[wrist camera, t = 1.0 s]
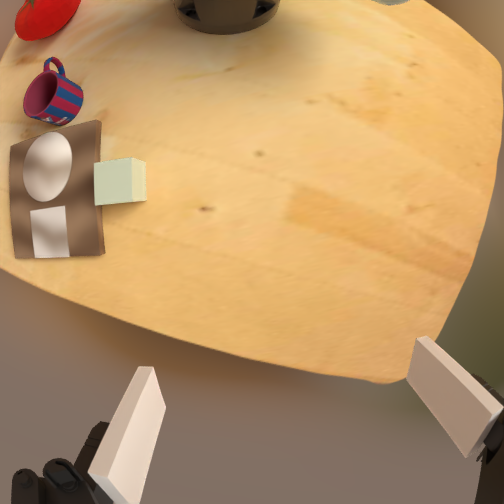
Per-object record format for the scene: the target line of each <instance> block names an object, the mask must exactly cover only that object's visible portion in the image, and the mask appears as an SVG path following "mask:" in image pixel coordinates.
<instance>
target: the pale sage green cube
mask: <svg viewBox="0 0 504 504" xmlns="http://www.w3.org/2000/svg"><path fill="white" fill-rule="evenodd" d="M94 196H95V206H96V205H106V204H116V203H126V202H137V201H146V165H145V162H144V161H142V160H139V159H136V158H133V157H130V158H123V159H116V160H109V161H103V162H97V163H94Z"/></svg>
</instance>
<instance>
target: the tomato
mask: <svg viewBox="0 0 504 504" xmlns="http://www.w3.org/2000/svg"><path fill="white" fill-rule="evenodd" d="M80 2H81V0H26V1H25V3H24V5H23V6H22V7H21V9H20V10H19V12H18V13H17V16H16V21H15V30H16V33H17V35H18V37H19V38H21V39H23V40H26V41H34V40H38V39H41V38H44V37H47V36H50V35H52V34H54V33H56V32H57V31H58V30H60V29H61V28H62V27H63V26H64V25H65V24H66V22H67V21H68V20H69V19H70V18H71V17H72V16H73V14H74V13H75V11H76V9H77V8H78V6H79V4H80Z"/></svg>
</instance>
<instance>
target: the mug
mask: <svg viewBox="0 0 504 504" xmlns="http://www.w3.org/2000/svg"><path fill="white" fill-rule="evenodd" d="M50 62H53V63H54V64H55V65H56V66H57V68H58V71H59V73H57V72H55V71H53V70H50V68H49V63H50ZM82 102H83V91H82V89H81V88H80V86H78V85H77V84H75V83H73V82H72V81H70V80H68V79H67V78H66V77H65V71H64V67H63V65H62V63H61V62H60V61H59V60H58V59H57V58H55V57H51V58H49V59H47V60H46V61H45V63H44V72H43V73H41V74H39V75H38V76H37V77H36V78H35V79H34V80H33V81H32V83H31V84H30V86H29V87H28V89H27V91H26V94H25V97H24V102H23V107H24V112H25V113H26V115H27V116H29V117H31V118H35V119H38V120H41V121H44V122H48V123H51V124H54V125H58V126H62V125H65V124H67V123H69V122H70V121H71V120H72V119H74V117H75V116H76V115H77V114H78V112H79V110H80V108H81V106H82Z"/></svg>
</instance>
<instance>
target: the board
mask: <svg viewBox="0 0 504 504" xmlns="http://www.w3.org/2000/svg"><path fill="white" fill-rule="evenodd" d="M100 144H101V122H100V121H98V120H94V121H89V122H85V123H81V124H77V125H74V126H70V127H66V128H63V129H59V130H56V131H53V132H47V133H45V134H43V135H40V136H37V137H34V138H31V139H28V140H25V141H23V142H20V143H17V144H15V145H12V146H11V151H10V212H11V225H12V235H13V244H14V252H15V258H53V257H70V256H96V255H102V254H104V253H105V246H104V236H103V224H102V210H101V205H96V206H95V196H94V163H97V162H100Z"/></svg>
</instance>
